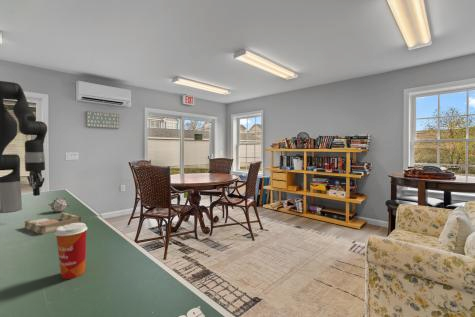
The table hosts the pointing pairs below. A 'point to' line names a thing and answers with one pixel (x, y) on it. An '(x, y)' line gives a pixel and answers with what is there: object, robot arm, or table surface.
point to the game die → (58, 205)
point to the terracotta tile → (49, 222)
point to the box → (52, 227)
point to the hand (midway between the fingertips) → (36, 195)
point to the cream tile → (41, 220)
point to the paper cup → (72, 249)
